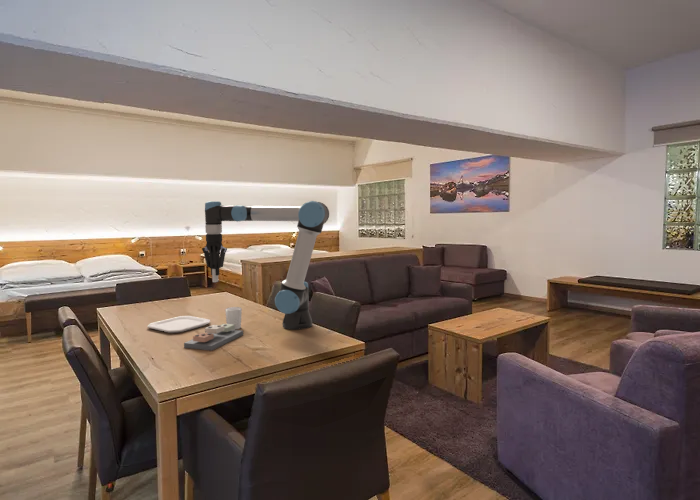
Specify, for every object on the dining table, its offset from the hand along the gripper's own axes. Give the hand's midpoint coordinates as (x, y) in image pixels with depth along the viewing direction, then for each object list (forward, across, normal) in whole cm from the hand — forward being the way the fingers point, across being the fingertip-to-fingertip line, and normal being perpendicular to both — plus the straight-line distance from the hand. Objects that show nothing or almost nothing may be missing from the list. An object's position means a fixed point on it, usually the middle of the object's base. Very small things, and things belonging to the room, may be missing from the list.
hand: (215, 281), depth 201 cm
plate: (+25, +24, -2) cm, 35 cm away
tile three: (+22, -9, +22) cm, 32 cm away
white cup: (+25, -5, -7) cm, 26 cm away
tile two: (+20, -9, +14) cm, 26 cm away
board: (+24, -9, +14) cm, 30 cm away
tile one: (+22, -9, +6) cm, 24 cm away
